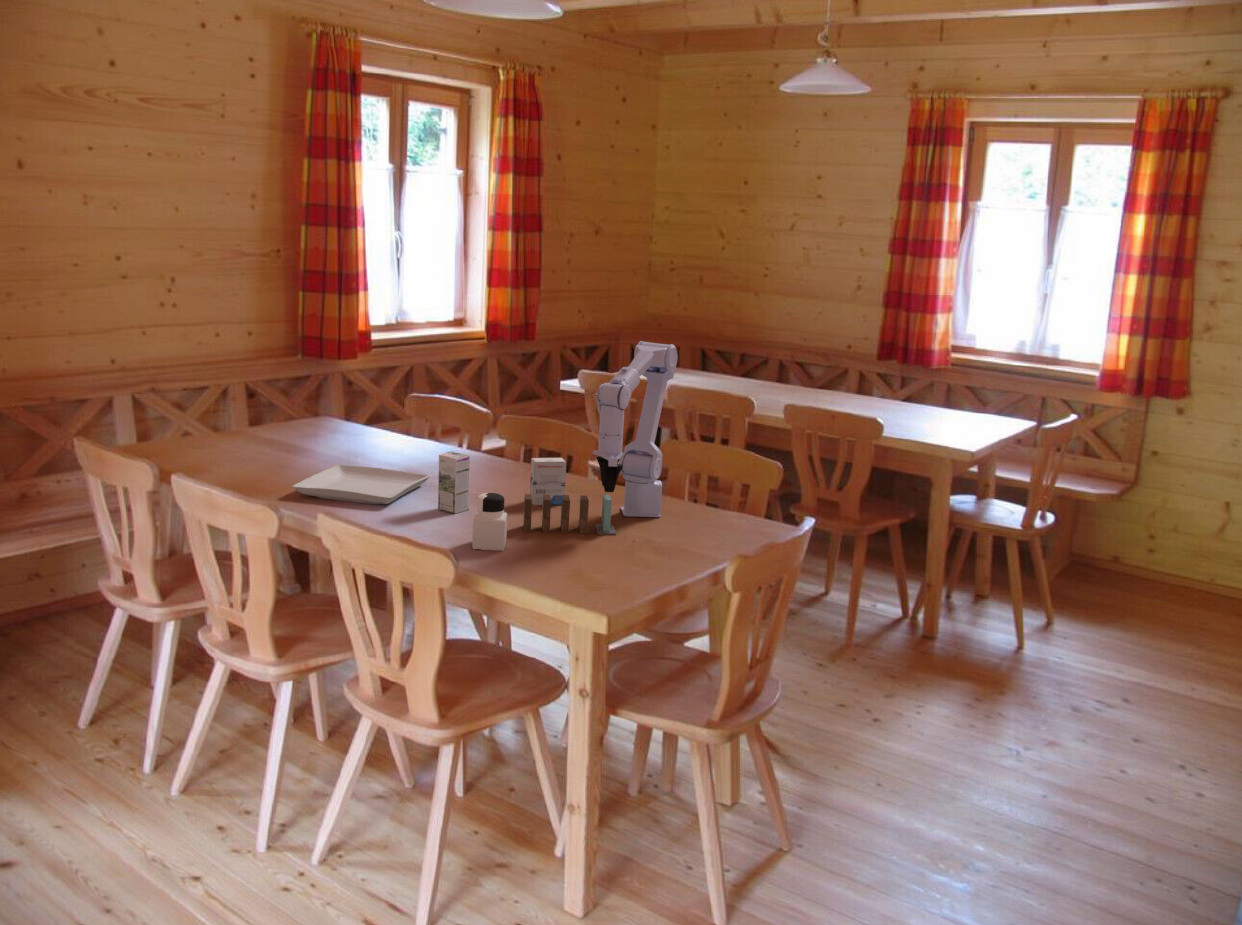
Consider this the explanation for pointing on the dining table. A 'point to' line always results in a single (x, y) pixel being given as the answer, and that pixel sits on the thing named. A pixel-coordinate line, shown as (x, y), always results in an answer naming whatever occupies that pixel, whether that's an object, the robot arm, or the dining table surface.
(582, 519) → the domino
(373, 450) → the dining table surface
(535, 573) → the dining table surface
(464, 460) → the syrup box
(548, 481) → the ink box
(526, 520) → the domino
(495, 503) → the medicine bottle
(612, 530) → the slot pad
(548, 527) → the domino
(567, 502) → the domino
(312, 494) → the square plate
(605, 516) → the teal tile
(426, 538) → the dining table surface
